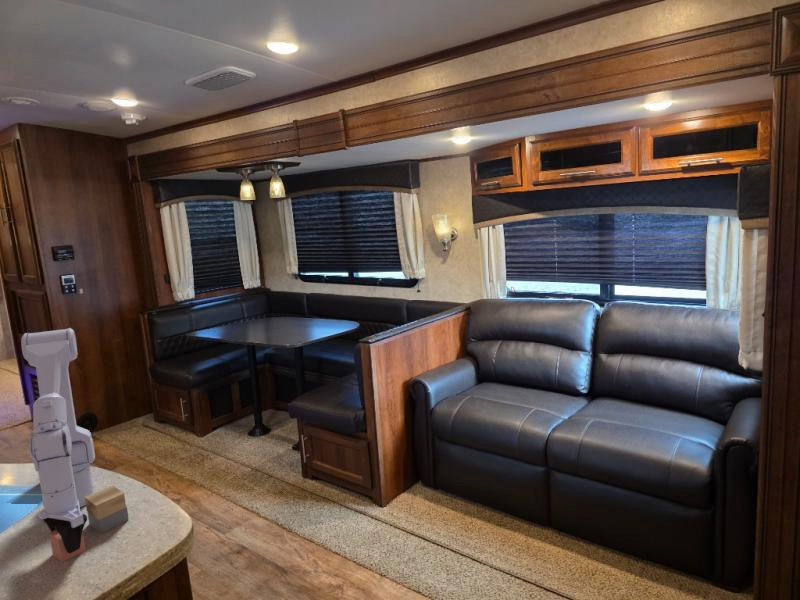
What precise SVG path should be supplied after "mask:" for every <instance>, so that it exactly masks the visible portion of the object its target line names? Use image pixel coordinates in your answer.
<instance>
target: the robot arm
mask: <svg viewBox="0 0 800 600" xmlns="http://www.w3.org/2000/svg"><path fill="white" fill-rule="evenodd" d="M20 343H21V352H22V355H23V358H24V359H25V360H26V361H27V362H28V365H29V366H31V367H34V368H35V371H36V377H37V386H38V392H39V397H38V398H37V399H36V400H35V401H34V403H33V404H32V406H33V407H32V409H33V410H32V413H33V414H32V419H33V420H32V421H33V436H30V438H29V454H30V456H31V459H32V462H33V464H34V469H35V472H37V473H38V480H39V484H40V491H41V495H42V497H41V500H42V506H43V511H40V512H39V513H38V514H37V515H38V518H39V519H41V520H42V521H43V522H44V523H45V524H46V526H47V527H48V529H49V531H50V532H52V531H55V530H56V531H57V532H58V533H59V534H60V536H61V538H62V540H63V543H64V546H65V548H66V550H67V552H68V553H69V554H70V553H72V552H74V551H76V550H78V549H80V544H81V536H82V531H83V532H84V527H85V525H86V522H88V515H87V514H85V513H81V507H84V506H86V503H85V497H86V496H88V495H90V494H93V493H95V492H96V491H95V489H94V483H93V477H92V471H91V465H90V464H92V463H93V462H94V461H95V458H96V454H95V444H94V440H93V437H92V432H90V429H89V430H88V429H86V428H84V427H81V426H79V425H77V420H76V419H77V418H76V414H75V413H76V412H75V405H74V399H73V393H72V392H73V391H72V386H71V380H70V373H69V365H70V362H72V361H75V360H76V359H78V347H77V337H76V333H75V330H74V329H72V328H71V327H68V328H65V329H55V330H49V331H48V330H47V331H41V332H40V331H39V332H31V333H29V332H27V333H26V332H25V333H24V334H23V335H22V336H21V341H20Z"/></svg>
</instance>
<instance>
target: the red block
mask: <svg viewBox="0 0 800 600" xmlns="http://www.w3.org/2000/svg"><path fill="white" fill-rule="evenodd" d="M48 536H49V539H50V546H51V547H50V548H51V551H52V552H51V553H52V555H53V556H54V557H55V558H56V559H58V560H59V561H60V562H61V563H64V562H65V561H67V560H69V559H72V558H73V557H76V556H77V555H79V554H81V553H83V552H86V550H87V548H86V544H85V537H84V530H83V531H82V536H81V544H80V549H78V550H76V551H74V552H72V553H70V554H69V553H68V552H67V550H66V548H65V546H64V543H63V540H62V538H61V536H60V534H59V533H58V532H57V531H56V530H55V531H52V532H51V531H50V532H49V535H48Z"/></svg>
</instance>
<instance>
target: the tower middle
mask: <svg viewBox="0 0 800 600" xmlns="http://www.w3.org/2000/svg"><path fill="white" fill-rule="evenodd" d="M125 497H126V496H125V492H123V491H121V490H120V489H119V488H118V487H115V486H114V485H110V486H108V487H105V488H103V489H100V490H98V491H95V493H93V494H90V495H88V496H86V497H85V503H86V505H85V508H86V512H89V513H90V514H91V515H92V516H94V517H95V518H96V519H97V520H100V519H102V518H104V517H106V516H108V515H110V514H113V513H115V512H117V511H119V510H121V509H123V508H126V506H127V504H126V498H125Z"/></svg>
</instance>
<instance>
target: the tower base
mask: <svg viewBox="0 0 800 600" xmlns="http://www.w3.org/2000/svg"><path fill="white" fill-rule="evenodd" d="M86 512H87V511H86ZM129 518H130V517H129V512H128V506H127V505H126V508H123V509H121V510H119V511H117V512H115V513H113V514H110V515H108V516H106V517H104V518H102V519H100V520H97V519H96V518H95V517H94V516H92V515H91V514H90V513H89V512H87V520H88V524H89V526H91V527H92V528H93V529H95V530H96V531H97V532H99V533H100V534H103V533H105V532H107V531H109V530H111V529H113V528H116V527H117V526H120V525H121V524H123V523H125V522H127V521H129V520H130V519H129ZM128 519H129V520H128ZM122 522H123V523H122Z"/></svg>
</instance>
